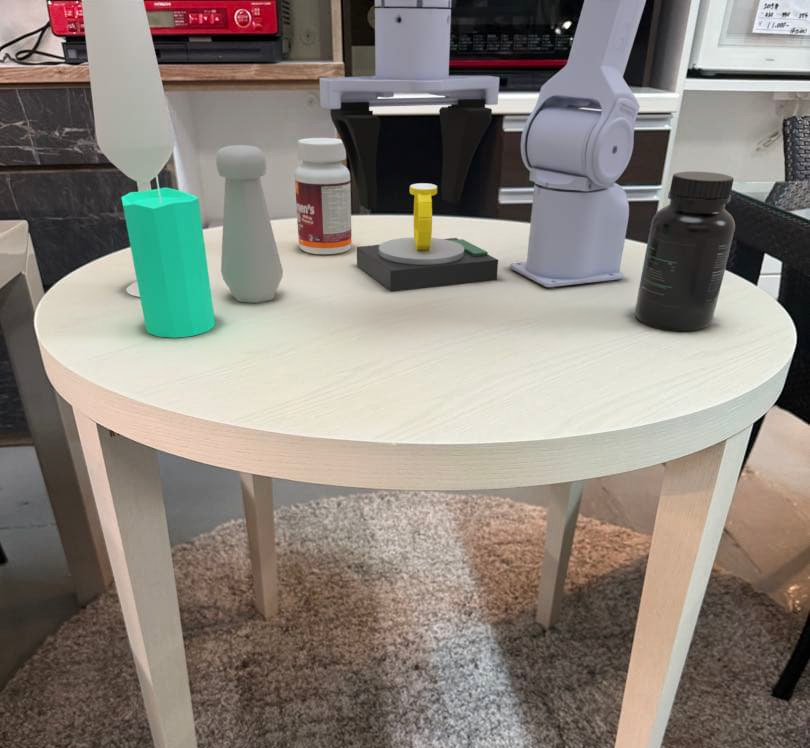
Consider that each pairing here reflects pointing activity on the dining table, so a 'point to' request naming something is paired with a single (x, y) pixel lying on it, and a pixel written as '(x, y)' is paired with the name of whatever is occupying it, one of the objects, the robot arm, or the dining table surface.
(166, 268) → the candle
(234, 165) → the salt shaker
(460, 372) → the dining table surface
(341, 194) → the pill bottle
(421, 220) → the watch
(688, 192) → the supplement bottle
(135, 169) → the champagne flute
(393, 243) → the scale
